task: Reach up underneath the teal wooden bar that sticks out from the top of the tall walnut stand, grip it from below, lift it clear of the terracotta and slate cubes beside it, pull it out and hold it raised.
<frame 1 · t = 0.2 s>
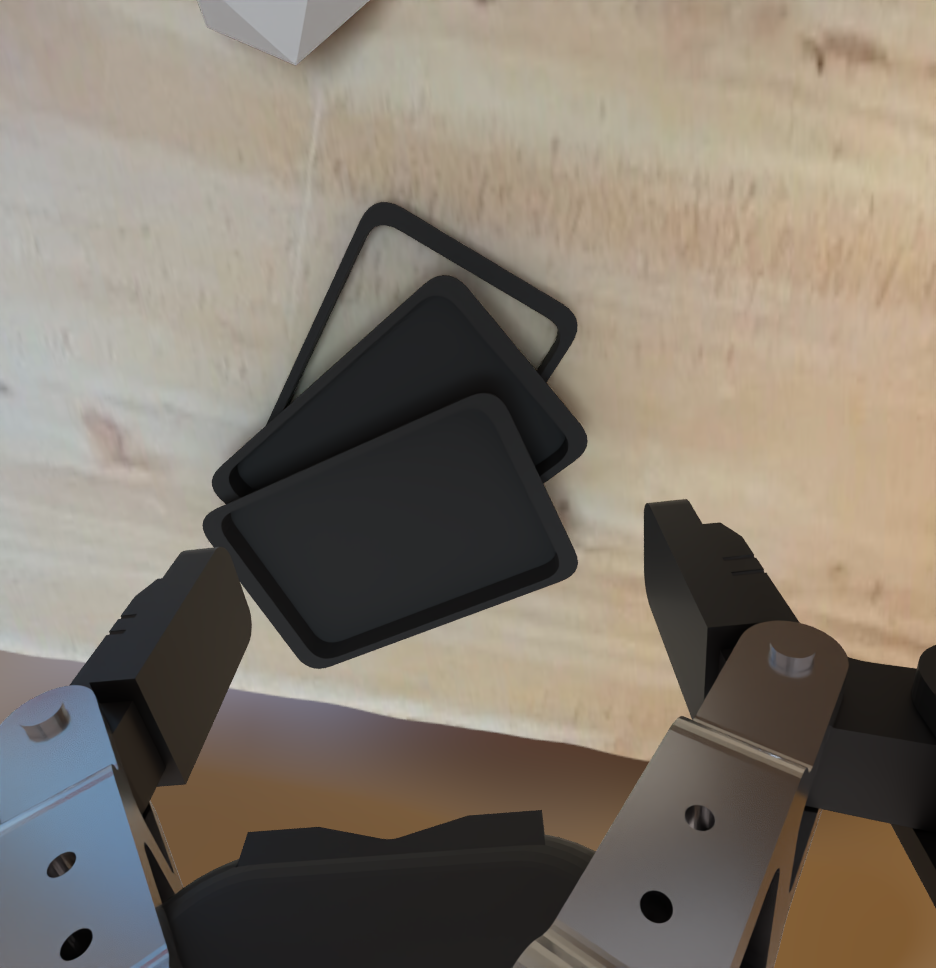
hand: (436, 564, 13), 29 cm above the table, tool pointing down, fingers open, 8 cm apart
tray: (413, 460, 45), on the table
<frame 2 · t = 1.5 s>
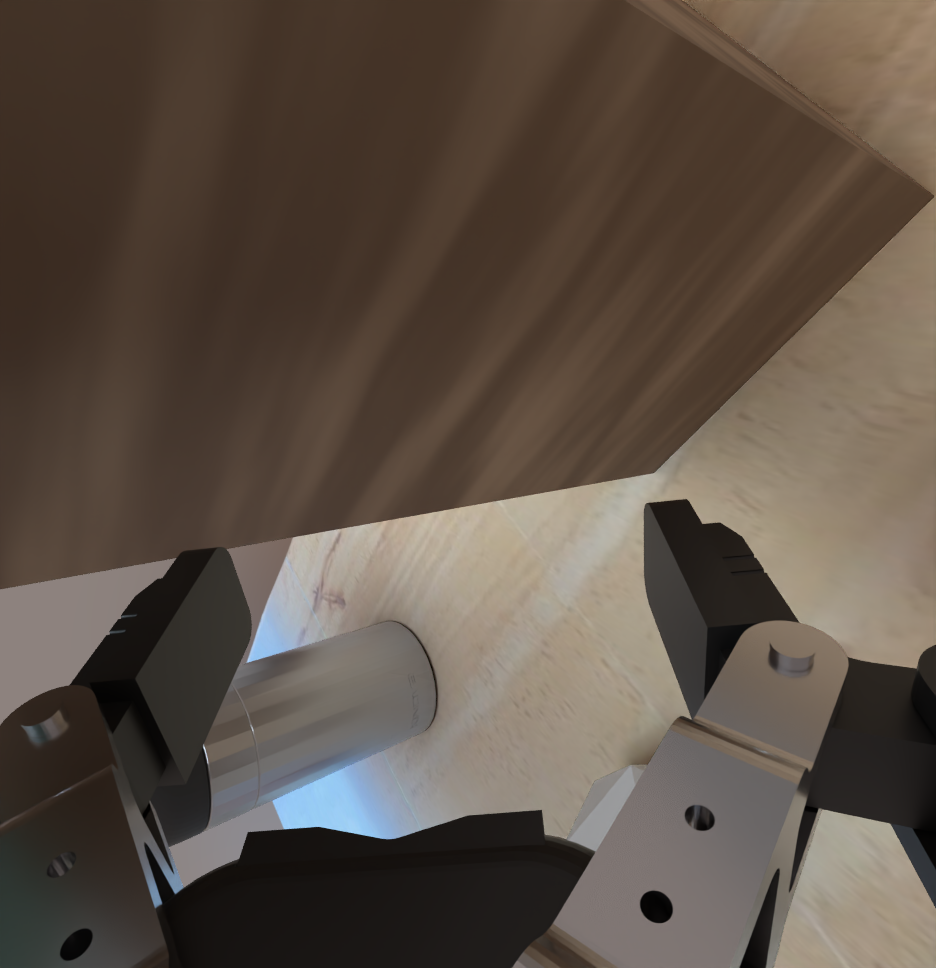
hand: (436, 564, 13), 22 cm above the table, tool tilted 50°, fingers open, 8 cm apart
die: (701, 818, 35), on the table
walnut stand: (667, 251, 32), on the table
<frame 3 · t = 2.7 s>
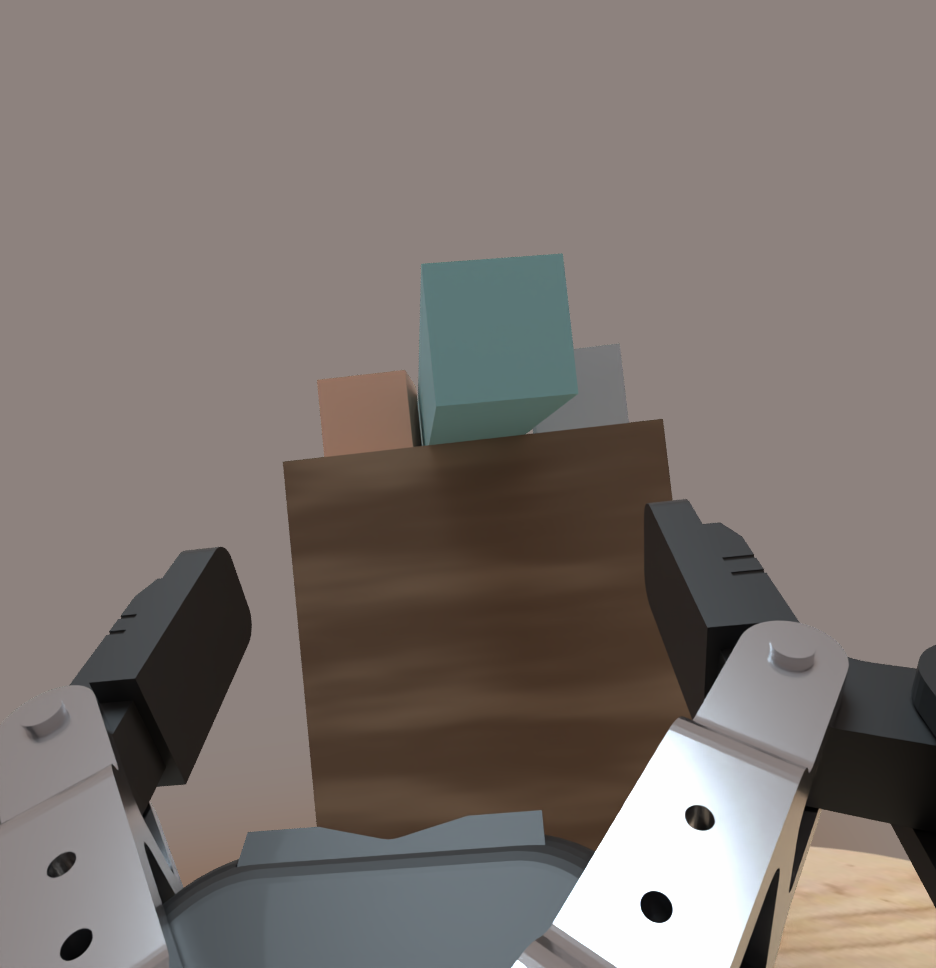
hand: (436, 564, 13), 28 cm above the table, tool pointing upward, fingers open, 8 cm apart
terracotta cube: (377, 466, 36), point 32 cm above the table, touching walnut stand
slate cube: (579, 443, 35), point 32 cm above the table, touching walnut stand
teal bar: (471, 446, 30), point 32 cm above the table, touching walnut stand
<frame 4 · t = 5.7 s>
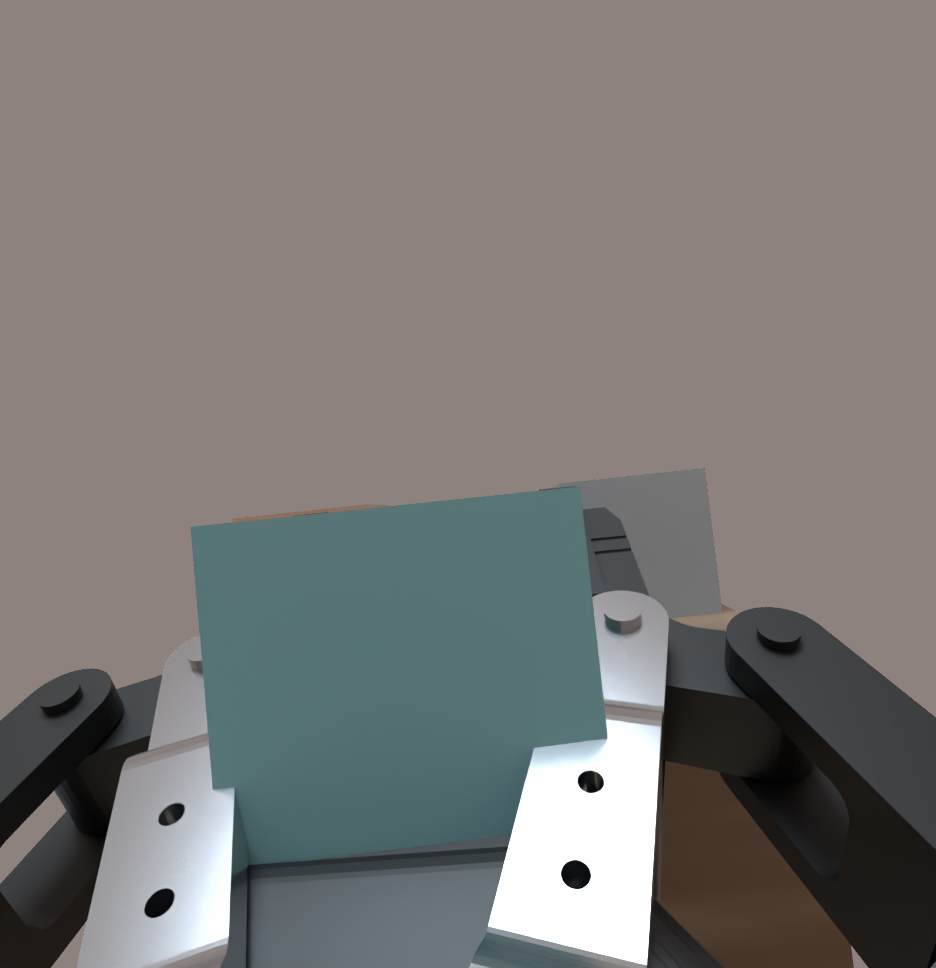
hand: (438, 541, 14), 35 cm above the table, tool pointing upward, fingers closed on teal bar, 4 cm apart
terracotta cube: (330, 637, 24), point 32 cm above the table, touching walnut stand
slate cube: (635, 608, 23), point 32 cm above the table, touching walnut stand
teal bar: (460, 653, 19), point 32 cm above the table, touching gripper, walnut stand
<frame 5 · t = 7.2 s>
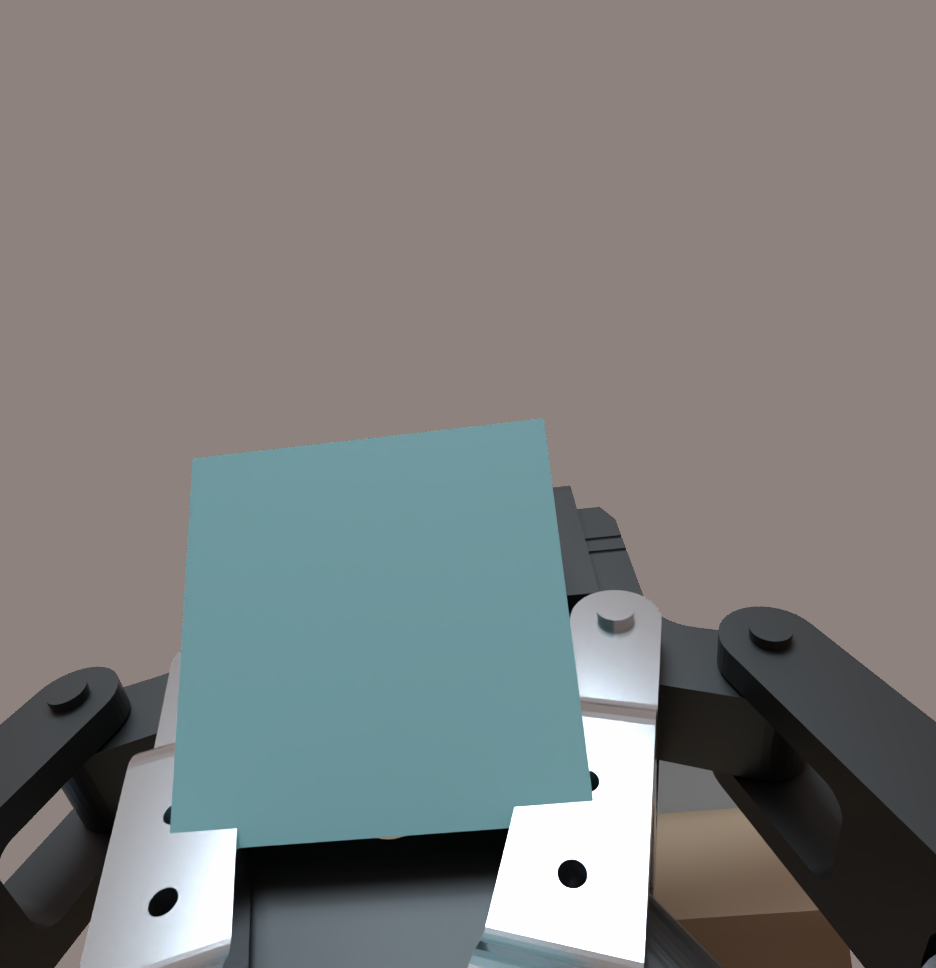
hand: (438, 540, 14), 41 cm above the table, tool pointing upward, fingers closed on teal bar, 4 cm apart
slate cube: (654, 782, 23), point 32 cm above the table, touching walnut stand
teal bar: (480, 755, 17), point 35 cm above the table, tilted 16°, touching gripper
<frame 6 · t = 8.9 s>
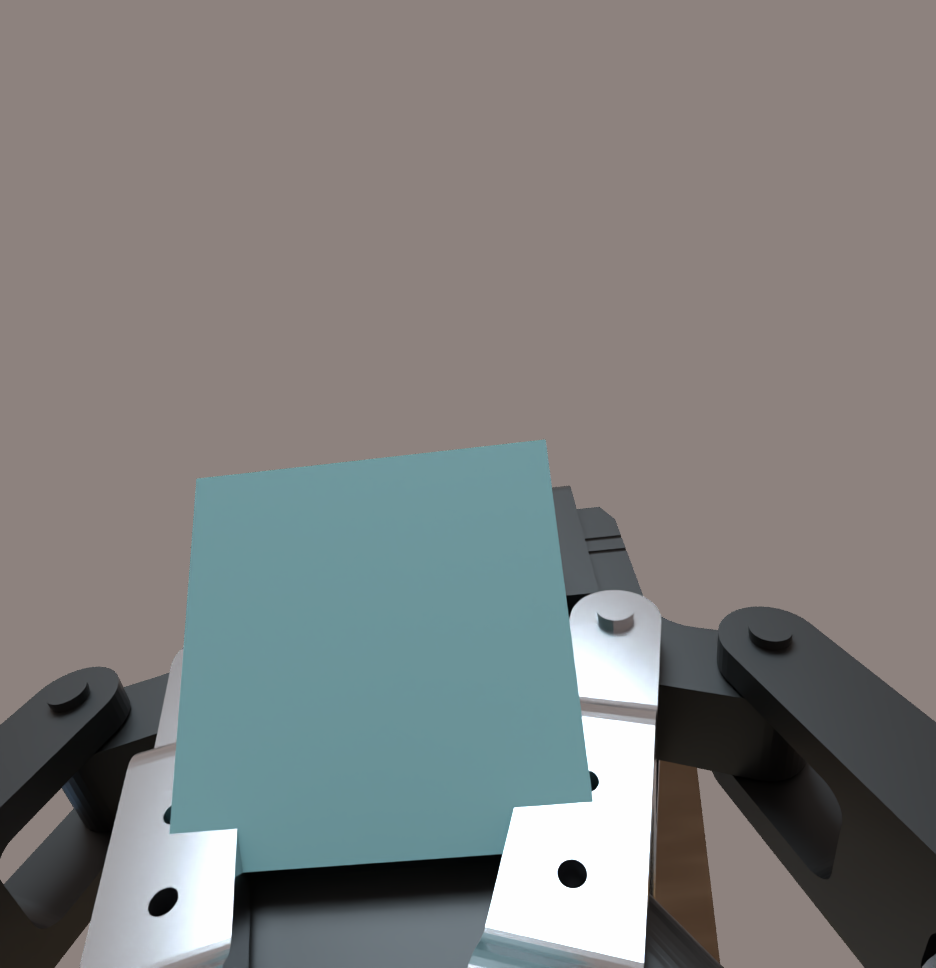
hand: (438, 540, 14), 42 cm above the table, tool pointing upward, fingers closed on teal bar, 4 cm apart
teal bar: (482, 780, 17), point 36 cm above the table, tilted 19°, touching gripper
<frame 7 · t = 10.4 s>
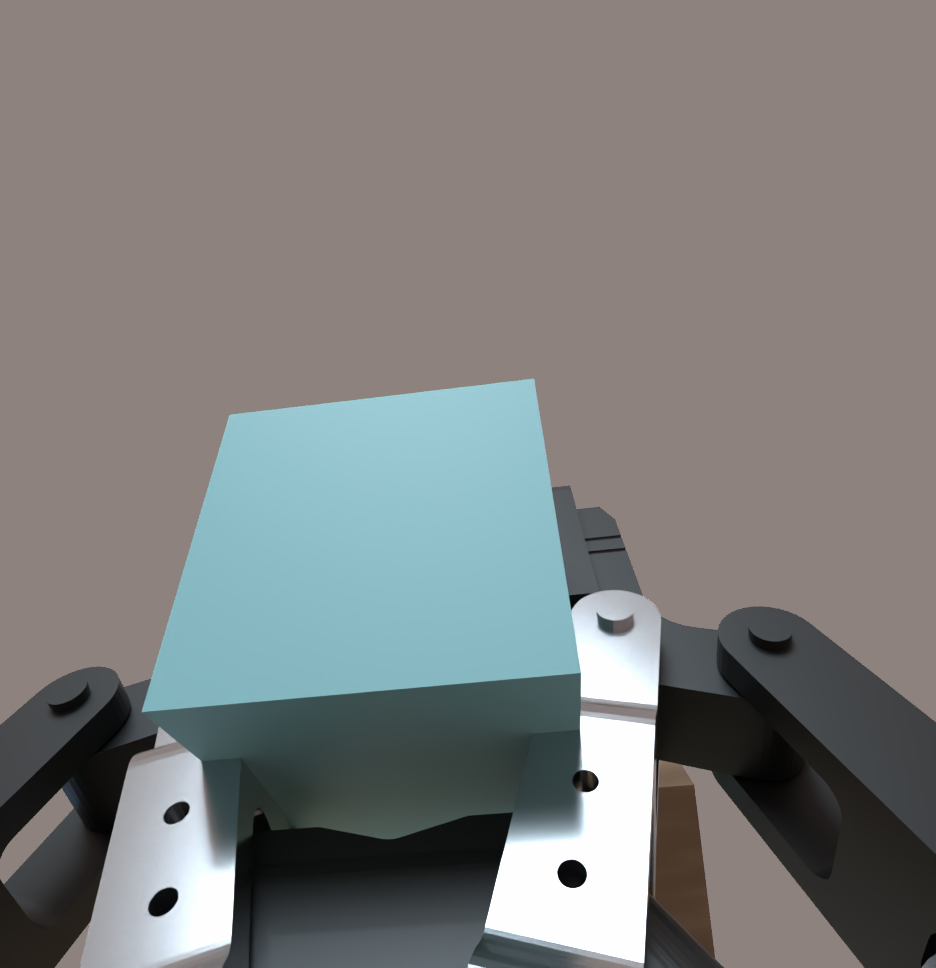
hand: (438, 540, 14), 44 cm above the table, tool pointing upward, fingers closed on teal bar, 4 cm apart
teal bar: (488, 918, 15), point 36 cm above the table, tilted 39°, touching gripper
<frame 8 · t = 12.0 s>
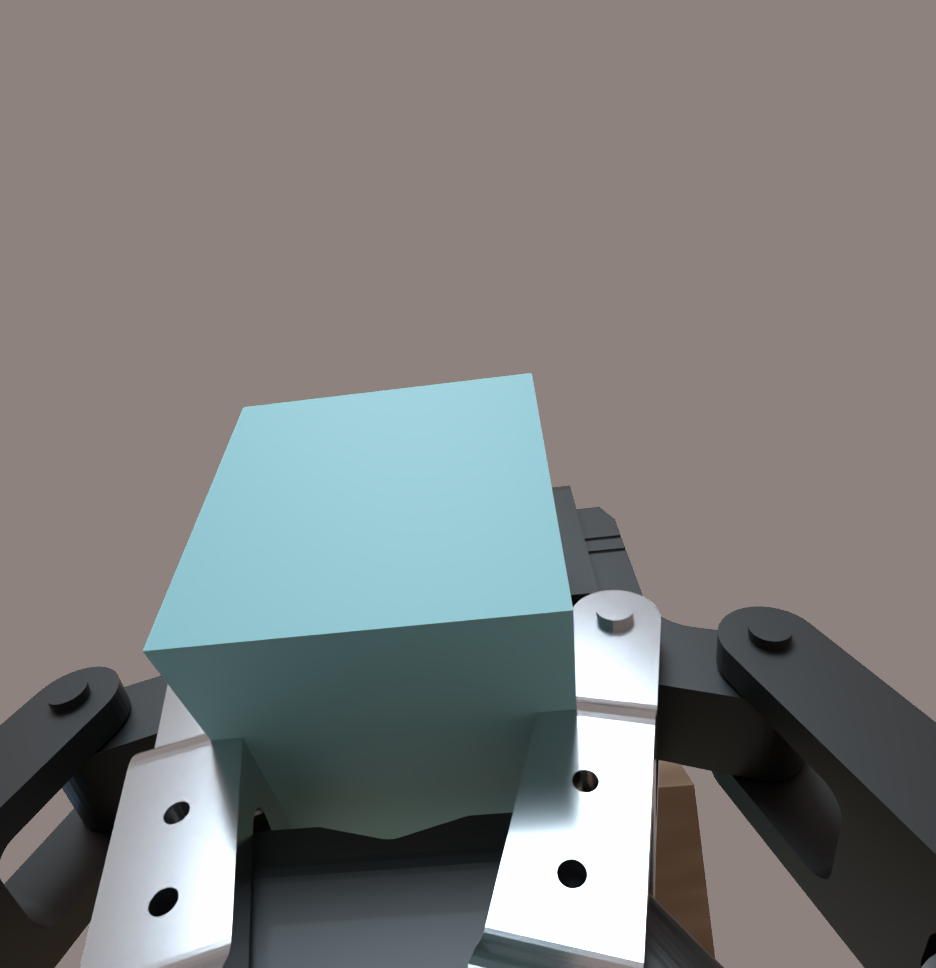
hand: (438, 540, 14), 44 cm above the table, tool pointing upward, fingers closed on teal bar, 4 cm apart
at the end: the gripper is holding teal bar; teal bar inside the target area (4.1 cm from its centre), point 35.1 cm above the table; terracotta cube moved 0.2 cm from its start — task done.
